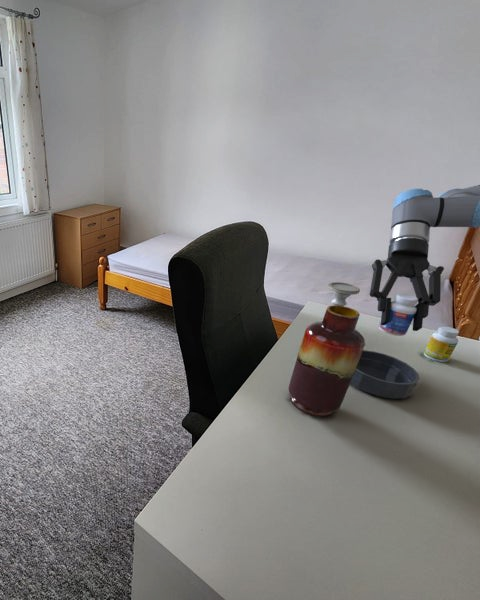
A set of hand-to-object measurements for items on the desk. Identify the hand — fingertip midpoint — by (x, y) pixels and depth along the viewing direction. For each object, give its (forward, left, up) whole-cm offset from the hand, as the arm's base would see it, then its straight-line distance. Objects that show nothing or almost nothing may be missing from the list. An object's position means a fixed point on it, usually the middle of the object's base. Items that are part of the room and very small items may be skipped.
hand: (400, 326), depth 83 cm
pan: (-1, -2, -18) cm, 18 cm away
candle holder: (+1, -20, -18) cm, 27 cm away
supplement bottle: (-27, -13, -18) cm, 35 cm away
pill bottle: (-2, -3, -4) cm, 5 cm away
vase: (+21, +7, -18) cm, 29 cm away
